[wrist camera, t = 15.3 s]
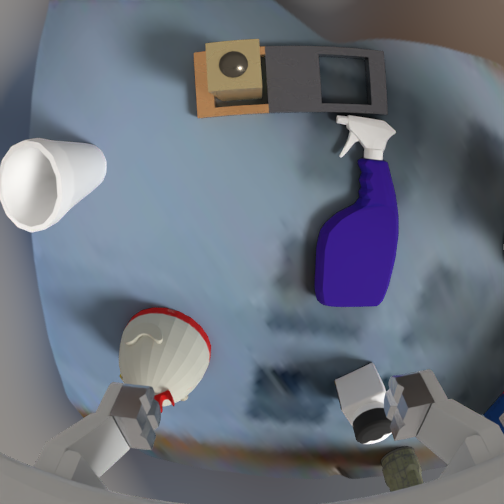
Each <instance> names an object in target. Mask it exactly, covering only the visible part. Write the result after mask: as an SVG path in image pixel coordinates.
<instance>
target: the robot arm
mask: <svg viewBox="0 0 504 504" xmlns="http://www.w3.org/2000/svg"><path fill="white" fill-rule="evenodd" d="M503 248H504V246H503ZM388 385H389V388H390V389H389V390H388V391H387V392H386V393H385V397H384V411H385V414H386V417H387V418H388V419H389V420H391V421H392V422H391V425H390V429H391V432H392V435H393V438H394V440H395V441H396V440H401V439H406V438H411V437H416V436H417V437H416V438H417V439H418V440H419V441H421V442H422V443H423V444H424V445H425V446H426V447H428V448H429V449H430V450H431V451H432V452H434V453H435V454H436V455H437V456H438V457H439V458H441V459H442V460H443V461H444V462H445V463H447V464H448V465H447V467H446V468H445V470H444V471H443V472H442V474H441V475H440V477H439V479H435V480H433V481H429V482H426V483H422V484H419V485H415V486H412V487H408V488H404V489H400V490H396V491H392V492H388V493H383V494H378V495H373V496H368V497H363V498H357V499H351V500H345V501H339V502H330V503H323V504H504V434H503V432H502V431H501V429H500V427H499V425H498V424H496V423H494V422H492V421H490V420H489V419H487V418H485V417H483V416H481V415H480V414H478V413H476V412H474V411H473V410H471V409H469V408H467V407H465V406H464V405H462V404H460V403H458V402H457V401H455V400H453V399H448V398H447V396H446V394H445V392H444V391H443V389H442V387H441V385H440V384H439V382H438V380H437V378H436V377H435V375H434V373H433V372H432V370H430V369H428V370H423V371H418V372H412V373H407V374H402V375H396V376H392V377H391V378H390V380H389V383H388ZM154 396H155V392H154V389H153V387H151V386H143V385H134V384H126V383H125V384H124V383H116V382H112V383H111V384H110V385H109V387H108V389H107V391H106V393H105V395H104V397H103V399H102V401H101V403H100V405H99V407H98V409H97V411H96V413H91V414H90V415H88V416H86V417H85V418H83V419H82V420H80V421H79V422H77V423H76V424H74V425H73V426H71V427H69V428H68V429H66V430H65V431H63V432H62V433H60V434H58V435H57V436H55V437H54V438H52V439H50V440H49V441H47V442H46V444H45V445H44V447H43V449H42V451H41V453H40V455H39V457H38V459H37V461H36V463H35V465H34V467H33V466H30V465H28V464H25V463H23V462H20V461H18V460H16V459H14V458H11V457H9V456H7V455H5V454H3V453H0V504H181V503H174V502H167V501H160V500H154V499H147V498H141V497H136V496H131V495H127V494H122V493H117V492H113V491H109V490H108V489H107V487H106V485H105V484H104V483H103V482H102V481H101V480H100V478H99V477H100V476H101V475H102V474H103V473H104V472H105V471H107V469H109V468H110V467H111V466H112V465H113V464H114V463H115V462H116V461H117V460H118V459H120V458H121V457H122V456H123V455H124V454H125V453H126V452H127V451H128V450H129V449H130V448H129V447H131V448H138V449H146V450H152V448H153V444H154V441H155V437H156V435H155V433H154V430H155V429H156V428H157V427H159V424H160V419H161V410H160V405H159V403H158V401H156V400H155V399H154ZM182 504H183V503H182Z"/></svg>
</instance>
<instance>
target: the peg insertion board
mask: <svg viewBox="0 0 504 504" xmlns="http://www.w3.org/2000/svg"><path fill="white" fill-rule="evenodd" d="M260 57H265V64H266V79H267V94H268V104H259V105H242V106H229V107H218V108H216V97H215V96H214V95H212V94H211V93H209V92H208V80H207V63H206V51H203V52H196V53H194V67H195V84H196V100H197V114H198V118H208V117H219V116H231V115H245V114H263V113H292V112H334V113H363V114H381V115H387V114H388V112H387V91H386V75H385V63H384V52H383V51H377V50H368V49H357V48H344V47H326V46H263V47H260ZM319 57H338V58H354V59H365V69H366V83H367V100H368V105H360V104H334V103H322V98H321V82H320V67H319Z"/></svg>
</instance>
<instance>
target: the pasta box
mask: <svg viewBox="0 0 504 504" xmlns="http://www.w3.org/2000/svg"><path fill="white" fill-rule="evenodd" d="M484 416H485V418H487V419H489V420H490V421H492V422H494V423H496V424H498V425H499V427H500V429H501V431H502V432H503V434H504V392H503V393H502V394H501V395H500V397H499V398H498V399H497V400H496V401H495V402H494V404H493V405H492V406H491V407H490V408H489V409H488V410H487V412H486V413H485V414H484Z"/></svg>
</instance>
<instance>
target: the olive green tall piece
mask: <svg viewBox="0 0 504 504" xmlns="http://www.w3.org/2000/svg"><path fill="white" fill-rule="evenodd" d="M381 464H382V467H383V470H382V471H383V474H384V478H385V482H386V484H387V486H388V487H389V488H390V492H392V491H396V490H400V489H404V488H408V487H412V486H415V485H419V484H422V483H423V480H422V477H421V471H422V470H421V466H420V464H419V461H418V458H417V456H416V455H415V452H414V449H413V448H412V447H408V446H407V447H401V448H398V449H395V450H393V451H391V452H389V453H387V454H386V455H385V456H384V457H383V458H382V459H381Z"/></svg>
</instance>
